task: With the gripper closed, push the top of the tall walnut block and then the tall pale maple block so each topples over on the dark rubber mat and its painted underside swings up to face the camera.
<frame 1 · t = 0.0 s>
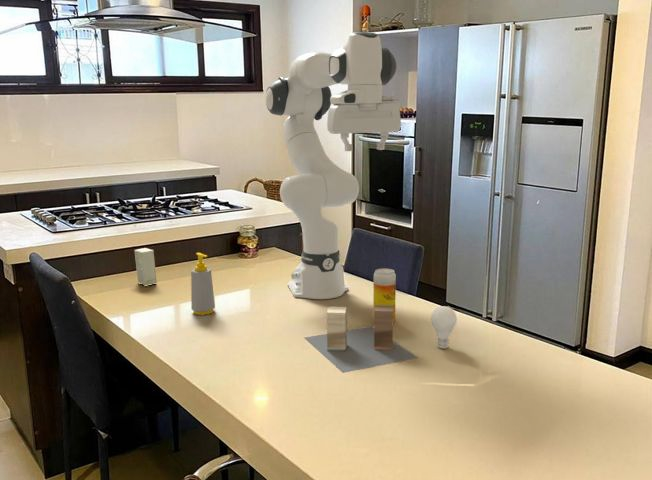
hand: (364, 150, 166), 48 cm above the table, fingers open, 8 cm apart
walnut block: (383, 346, 159), resting on rubber mat
lightbulb: (442, 349, 158), on the table
soap bottle: (203, 312, 187), on the table
beer can: (384, 323, 177), on the table
skincare box: (146, 284, 217), on the table
maple block: (337, 347, 158), resting on rubber mat
rubber mat: (358, 348, 158), on the table
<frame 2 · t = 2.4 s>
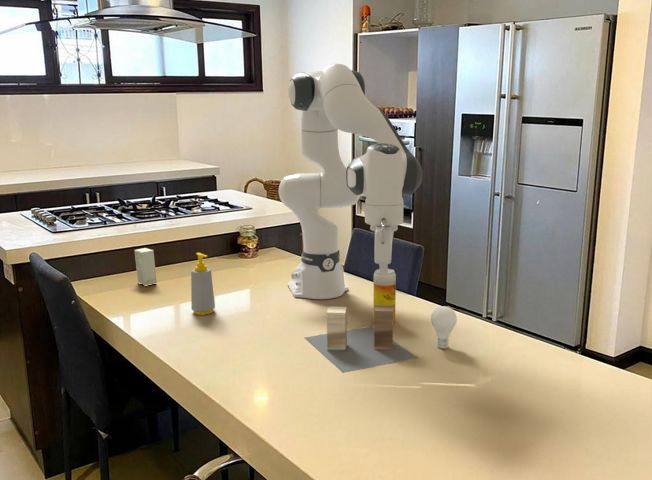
hand: (383, 273, 149), 21 cm above the table, fingers closed
nothing on the table moved.
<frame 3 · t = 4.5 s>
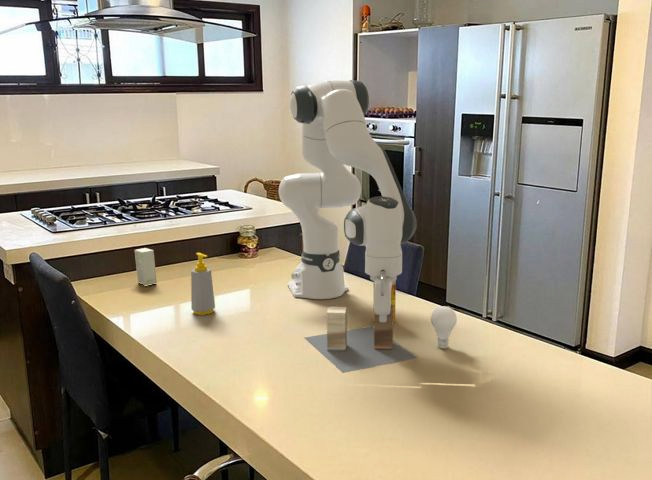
hand: (383, 320, 154), 8 cm above the table, fingers closed
walnut block: (383, 345, 159), point 1 cm above the table, touching gripper, rubber mat
everything else where it was.
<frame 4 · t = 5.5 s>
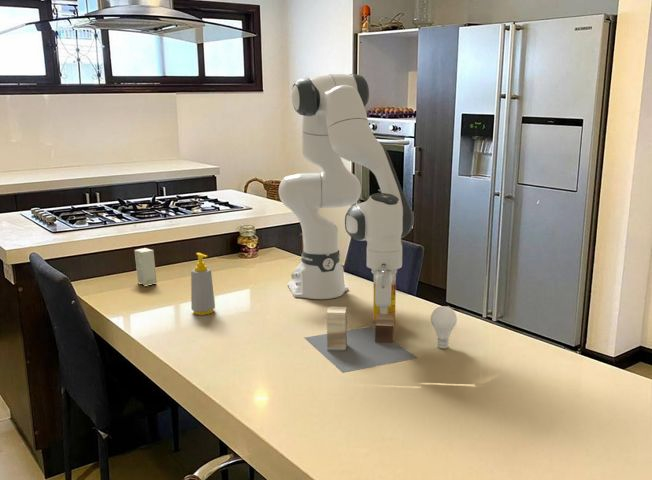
hand: (383, 312, 160), 8 cm above the table, fingers closed
walnut block: (384, 334, 161), point 3 cm above the table, tilted 91°, touching rubber mat
everything else where it was.
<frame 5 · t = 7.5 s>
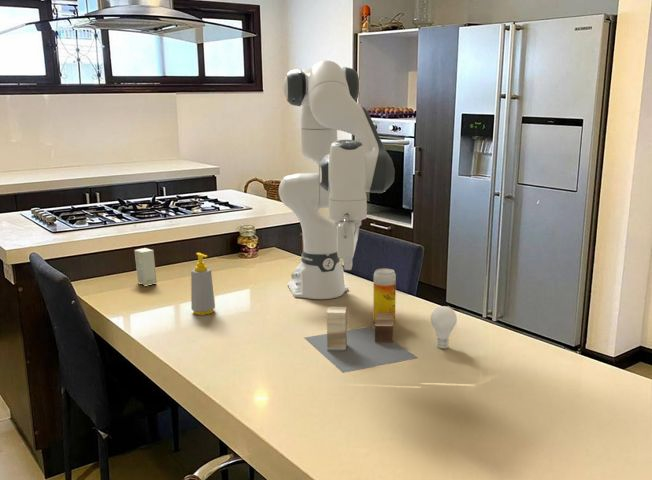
hand: (348, 268, 149), 22 cm above the table, fingers closed
nothing on the table moved.
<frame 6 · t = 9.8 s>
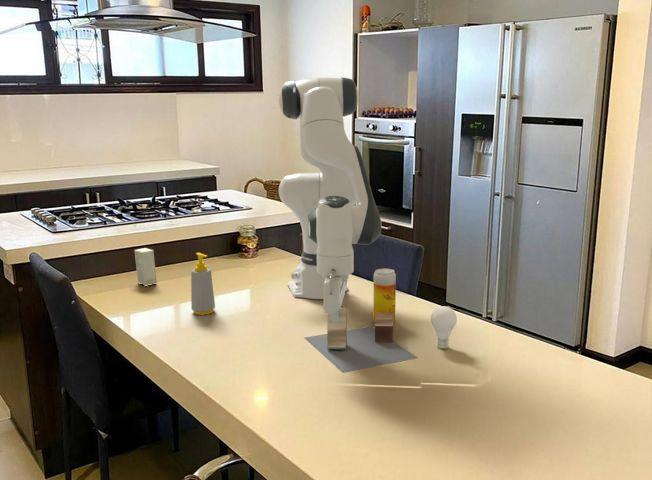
hand: (335, 320, 154), 9 cm above the table, fingers closed
maple block: (337, 346, 158), point 1 cm above the table, tilted 7°, touching gripper, rubber mat
everything else where it was.
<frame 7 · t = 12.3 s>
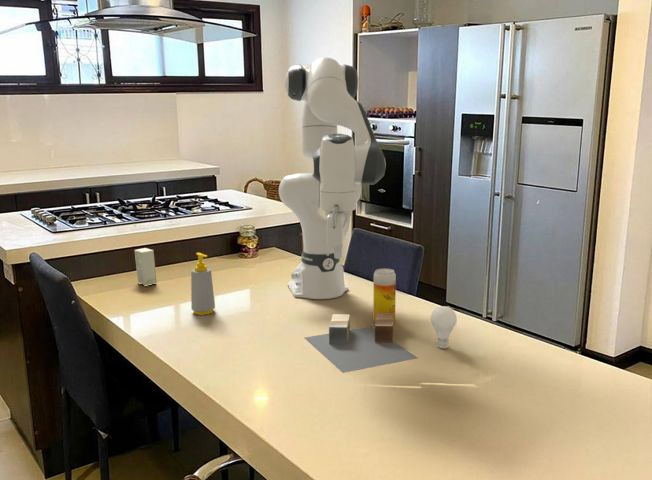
hand: (338, 257, 156), 23 cm above the table, fingers closed
maple block: (338, 335, 160), point 3 cm above the table, tilted 90°, touching rubber mat
everything else where it was.
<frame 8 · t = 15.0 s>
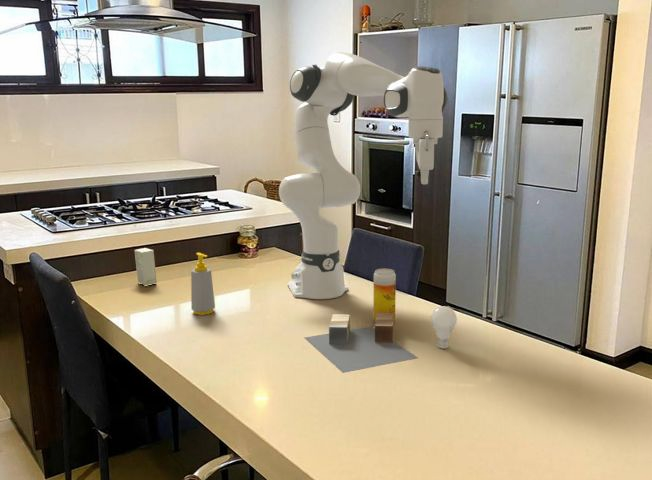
hand: (424, 183, 167), 39 cm above the table, fingers closed
nothing on the table moved.
at the end: walnut block tilted 90°; maple block tilted 90°; walnut block inside the target area (5.7 cm from its centre), point 2.7 cm above the table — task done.
